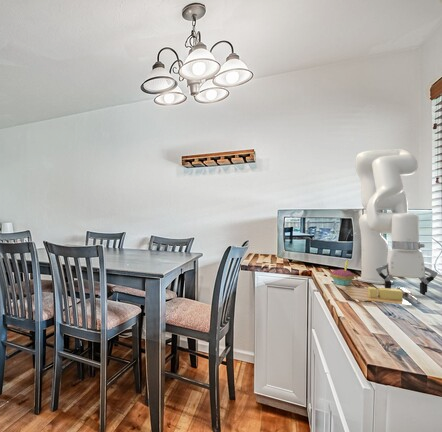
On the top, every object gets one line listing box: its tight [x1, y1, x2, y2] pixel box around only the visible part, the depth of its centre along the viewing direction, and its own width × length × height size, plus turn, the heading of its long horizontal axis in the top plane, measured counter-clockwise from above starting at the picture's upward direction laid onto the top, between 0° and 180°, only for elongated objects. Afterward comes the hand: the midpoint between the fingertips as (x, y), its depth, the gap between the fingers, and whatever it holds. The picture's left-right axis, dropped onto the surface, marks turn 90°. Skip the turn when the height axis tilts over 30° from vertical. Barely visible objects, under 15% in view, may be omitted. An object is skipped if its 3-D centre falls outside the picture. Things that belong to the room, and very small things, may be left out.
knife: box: [396, 286, 419, 304], centre depth 115 cm, size 20×2×3 cm, turn 150°
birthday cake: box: [329, 258, 355, 286], centre depth 137 cm, size 9×8×12 cm
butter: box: [377, 287, 404, 300], centre depth 113 cm, size 4×6×3 cm, turn 60°
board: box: [343, 286, 412, 306], centre depth 118 cm, size 22×16×1 cm
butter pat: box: [367, 286, 378, 298], centre depth 116 cm, size 4×2×3 cm, turn 150°
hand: (405, 292), depth 118 cm, fingers open, 9 cm apart
